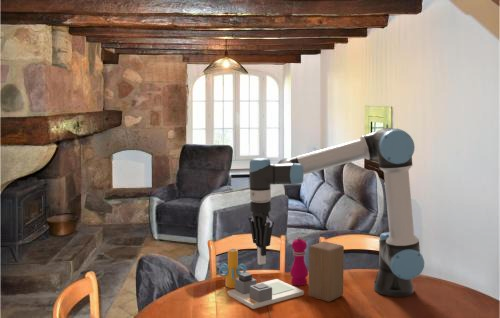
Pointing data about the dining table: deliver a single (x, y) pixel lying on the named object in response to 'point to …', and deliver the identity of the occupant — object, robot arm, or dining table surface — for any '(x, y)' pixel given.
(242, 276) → the block
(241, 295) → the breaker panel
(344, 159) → the robot arm
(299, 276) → the pepper mill
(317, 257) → the wooden block
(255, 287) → the block
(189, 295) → the dining table surface
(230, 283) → the yellow post with loops
